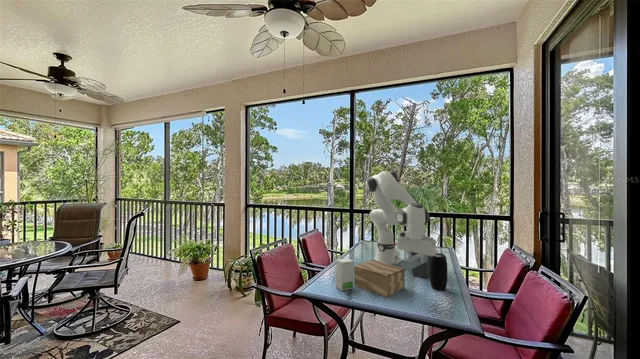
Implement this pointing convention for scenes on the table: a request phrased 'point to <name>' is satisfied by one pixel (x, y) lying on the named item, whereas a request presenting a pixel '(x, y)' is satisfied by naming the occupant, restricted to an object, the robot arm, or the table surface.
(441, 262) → the portable speaker
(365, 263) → the lid
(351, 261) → the skincare box
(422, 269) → the storage bin
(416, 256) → the grey rectangular bar
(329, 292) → the table surface
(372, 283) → the box
